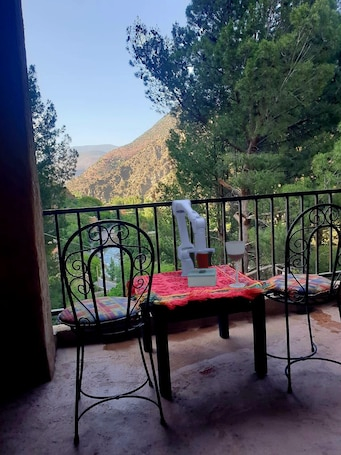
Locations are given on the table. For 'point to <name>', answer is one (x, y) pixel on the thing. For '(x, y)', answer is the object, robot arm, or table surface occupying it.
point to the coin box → (202, 277)
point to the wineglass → (236, 257)
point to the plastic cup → (202, 260)
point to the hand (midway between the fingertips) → (201, 266)
